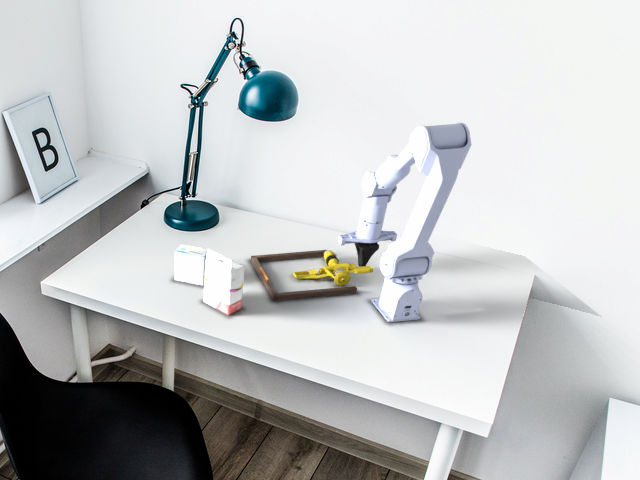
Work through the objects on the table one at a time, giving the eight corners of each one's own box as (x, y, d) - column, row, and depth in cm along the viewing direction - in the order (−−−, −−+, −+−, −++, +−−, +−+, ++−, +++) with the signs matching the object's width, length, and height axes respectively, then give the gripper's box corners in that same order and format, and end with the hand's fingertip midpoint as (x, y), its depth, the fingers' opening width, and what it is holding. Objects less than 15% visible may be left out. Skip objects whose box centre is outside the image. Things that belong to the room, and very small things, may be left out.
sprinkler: (359, 242, 173) (377, 268, 161) (358, 255, 175) (376, 283, 163) (285, 252, 175) (298, 280, 162) (286, 266, 177) (298, 294, 165)
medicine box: (208, 278, 169) (210, 248, 164) (202, 286, 166) (204, 256, 161) (180, 272, 172) (180, 243, 167) (173, 280, 168) (174, 250, 163)
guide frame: (356, 293, 162) (357, 287, 160) (273, 300, 160) (274, 294, 159) (325, 254, 178) (327, 248, 177) (250, 260, 176) (251, 254, 175)
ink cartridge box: (242, 308, 157) (247, 254, 149) (228, 316, 155) (232, 261, 146) (216, 294, 163) (220, 241, 154) (202, 301, 160) (205, 248, 151)
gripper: (392, 209, 165) (381, 257, 173) (337, 214, 164) (328, 261, 172) (405, 222, 159) (393, 270, 168) (348, 226, 158) (338, 274, 166)
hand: (361, 266), depth 169 cm, fingers closed
